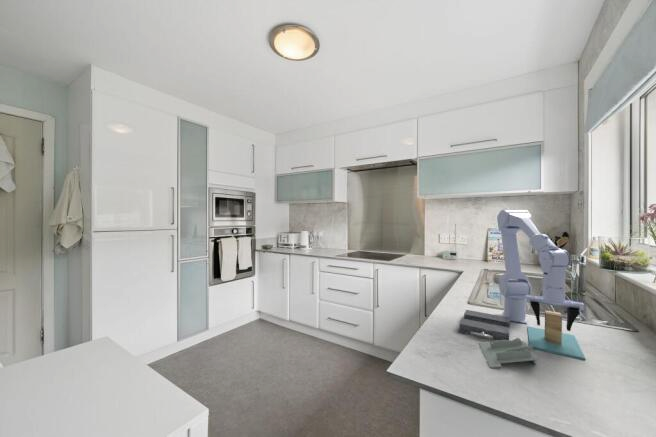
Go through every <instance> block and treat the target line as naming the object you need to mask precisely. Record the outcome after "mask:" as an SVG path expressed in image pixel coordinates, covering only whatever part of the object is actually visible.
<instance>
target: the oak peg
mask: <svg viewBox="0 0 656 437" xmlns="http://www.w3.org/2000/svg"><path fill="white" fill-rule="evenodd" d="M544 330H545V340H546V341H548V342H552V343H557V344H562V333H563V315H562V313H561V312H559V311H558V312H557V311H551V310H544Z"/></svg>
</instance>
